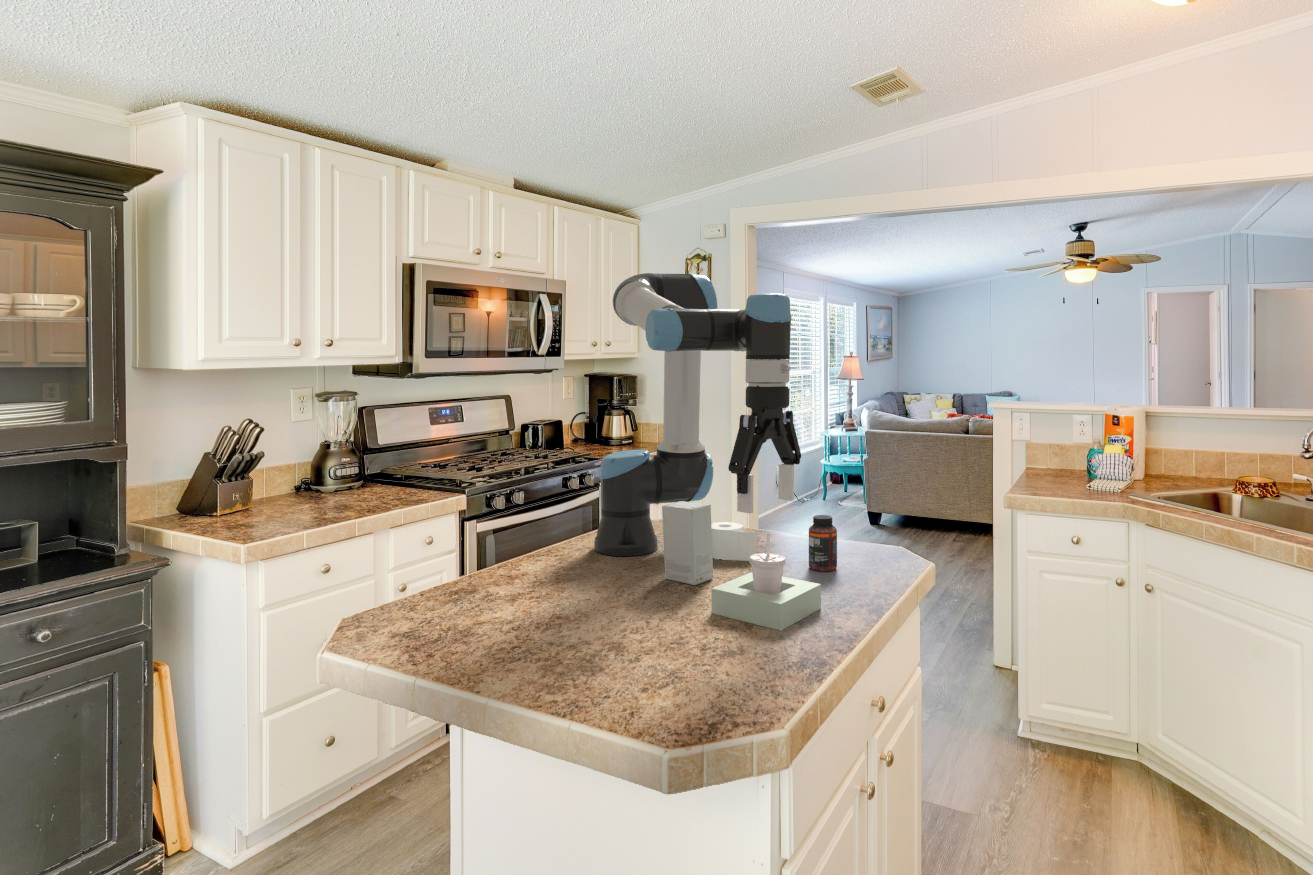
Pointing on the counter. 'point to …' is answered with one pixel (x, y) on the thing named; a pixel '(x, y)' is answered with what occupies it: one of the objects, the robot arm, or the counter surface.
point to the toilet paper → (732, 542)
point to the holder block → (766, 602)
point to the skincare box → (687, 542)
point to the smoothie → (767, 571)
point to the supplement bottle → (822, 544)
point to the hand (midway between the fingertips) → (766, 505)
